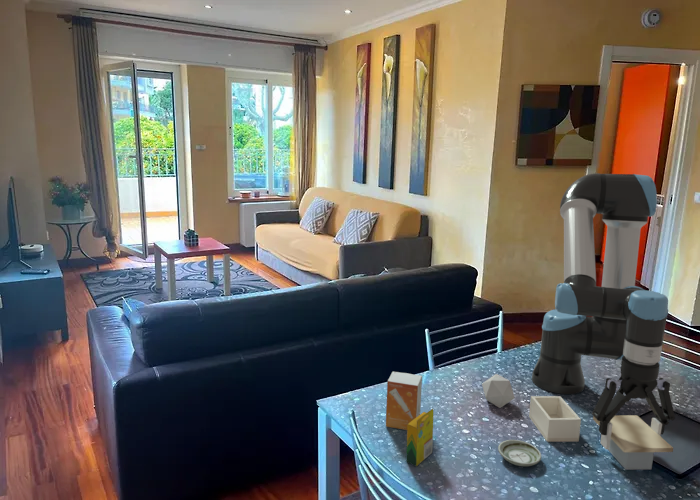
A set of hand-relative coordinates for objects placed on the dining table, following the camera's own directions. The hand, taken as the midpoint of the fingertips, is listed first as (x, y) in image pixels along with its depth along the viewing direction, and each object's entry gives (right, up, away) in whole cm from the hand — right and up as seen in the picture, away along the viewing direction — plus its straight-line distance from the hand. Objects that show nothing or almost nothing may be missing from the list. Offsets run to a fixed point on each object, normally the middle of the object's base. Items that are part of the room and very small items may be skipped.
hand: (629, 446), depth 122 cm
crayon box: (-50, -3, 0) cm, 50 cm away
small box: (-52, 0, +14) cm, 54 cm away
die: (-24, +2, +26) cm, 35 cm away
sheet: (0, +3, -1) cm, 3 cm away
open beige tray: (-13, 0, +13) cm, 18 cm away
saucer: (-26, -3, -1) cm, 26 cm away
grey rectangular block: (0, -3, +1) cm, 3 cm away
